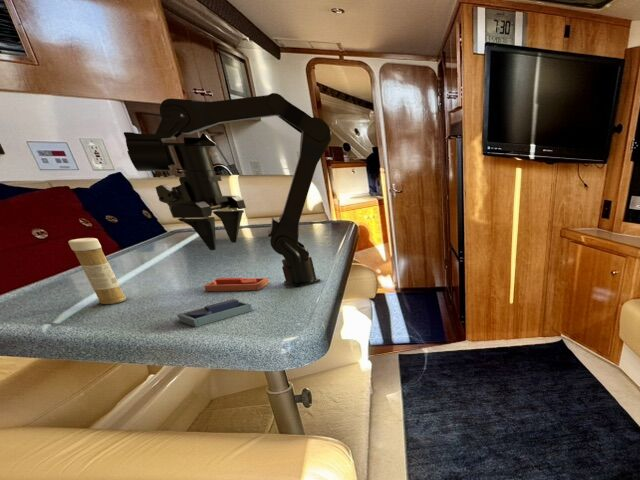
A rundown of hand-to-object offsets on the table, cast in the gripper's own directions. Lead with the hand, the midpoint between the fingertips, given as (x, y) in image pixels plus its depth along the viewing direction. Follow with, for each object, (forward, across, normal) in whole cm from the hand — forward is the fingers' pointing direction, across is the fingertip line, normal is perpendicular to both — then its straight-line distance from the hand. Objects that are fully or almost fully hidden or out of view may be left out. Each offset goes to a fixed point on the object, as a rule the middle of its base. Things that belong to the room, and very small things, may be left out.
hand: (223, 246), depth 93 cm
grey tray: (+10, +19, +5) cm, 22 cm away
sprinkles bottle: (+10, +8, -23) cm, 27 cm away
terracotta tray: (+10, -2, -1) cm, 11 cm away
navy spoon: (+10, +19, +5) cm, 22 cm away
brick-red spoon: (+10, -2, -1) cm, 10 cm away
